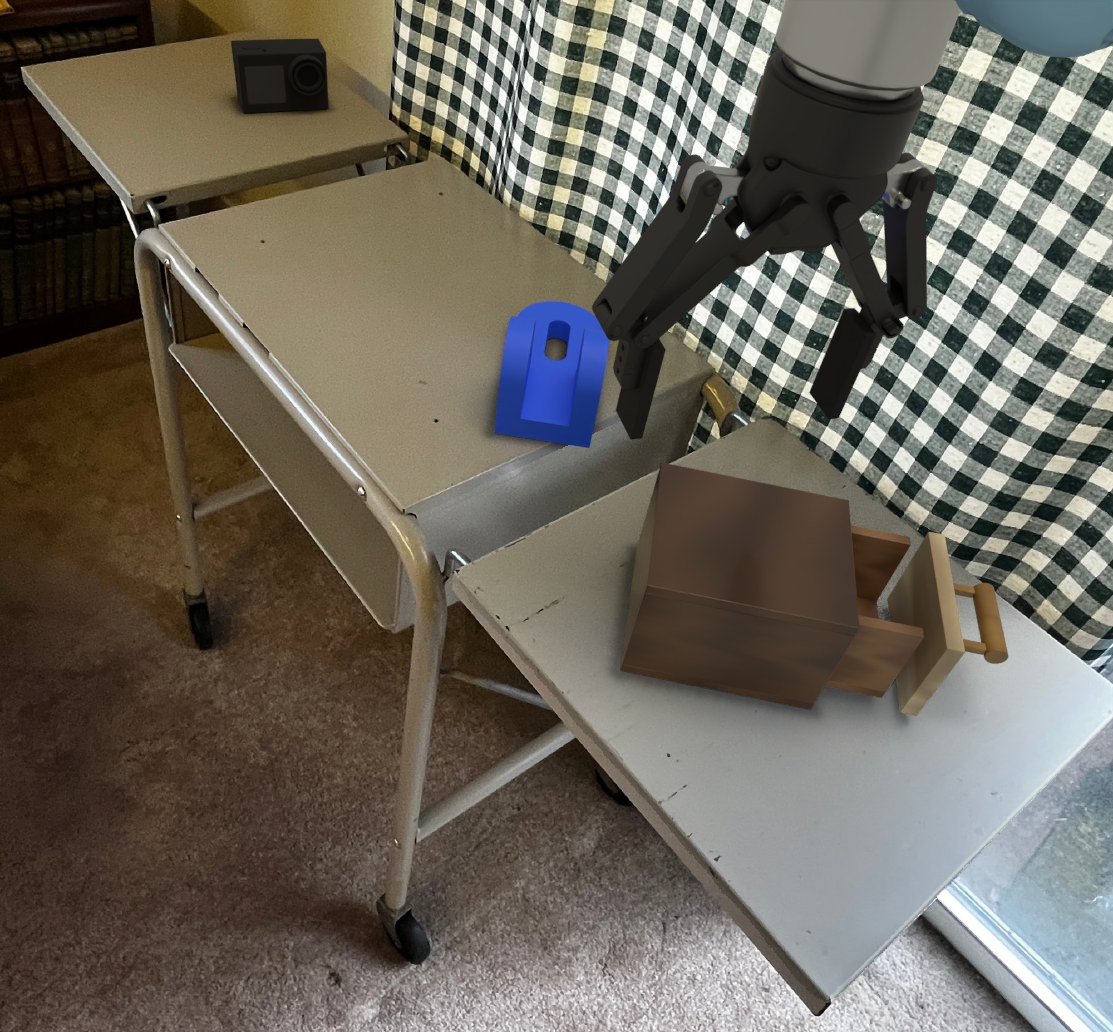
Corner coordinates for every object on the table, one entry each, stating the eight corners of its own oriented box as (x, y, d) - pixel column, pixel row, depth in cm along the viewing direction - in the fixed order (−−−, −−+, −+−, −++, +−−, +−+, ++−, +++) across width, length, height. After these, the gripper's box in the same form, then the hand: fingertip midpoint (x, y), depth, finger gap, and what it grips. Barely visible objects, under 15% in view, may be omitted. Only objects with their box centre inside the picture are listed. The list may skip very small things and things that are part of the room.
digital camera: (244, 118, 114) (238, 58, 109) (236, 98, 118) (229, 39, 112) (331, 114, 118) (328, 56, 113) (321, 94, 121) (318, 37, 116)
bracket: (589, 448, 82) (606, 365, 76) (494, 433, 82) (503, 348, 76) (602, 326, 95) (617, 246, 88) (519, 313, 94) (528, 231, 88)
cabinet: (806, 584, 75) (849, 499, 68) (810, 710, 67) (859, 628, 60) (636, 549, 75) (661, 461, 68) (620, 670, 67) (647, 585, 60)
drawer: (956, 612, 74) (1003, 546, 68) (976, 729, 66) (1031, 665, 61) (742, 569, 74) (772, 499, 68) (740, 680, 67) (772, 612, 61)
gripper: (1016, 42, 51) (869, 363, 66) (573, 26, 43) (522, 392, 58) (1109, 104, 46) (928, 435, 61) (628, 98, 39) (557, 477, 54)
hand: (729, 415), depth 60 cm, fingers open, 13 cm apart
